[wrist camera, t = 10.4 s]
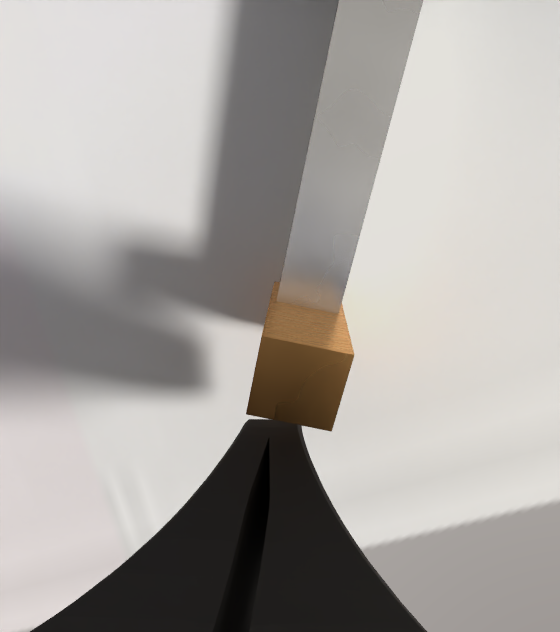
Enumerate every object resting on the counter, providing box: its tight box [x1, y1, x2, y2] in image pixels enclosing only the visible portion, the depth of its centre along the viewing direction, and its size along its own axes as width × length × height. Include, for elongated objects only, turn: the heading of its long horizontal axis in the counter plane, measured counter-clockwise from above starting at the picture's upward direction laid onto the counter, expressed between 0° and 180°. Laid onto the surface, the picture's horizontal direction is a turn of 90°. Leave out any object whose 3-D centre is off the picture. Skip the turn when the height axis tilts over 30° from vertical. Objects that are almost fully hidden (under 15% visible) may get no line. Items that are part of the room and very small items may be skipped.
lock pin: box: [246, 0, 423, 431], centre depth 8 cm, size 2×14×4 cm, turn 169°
